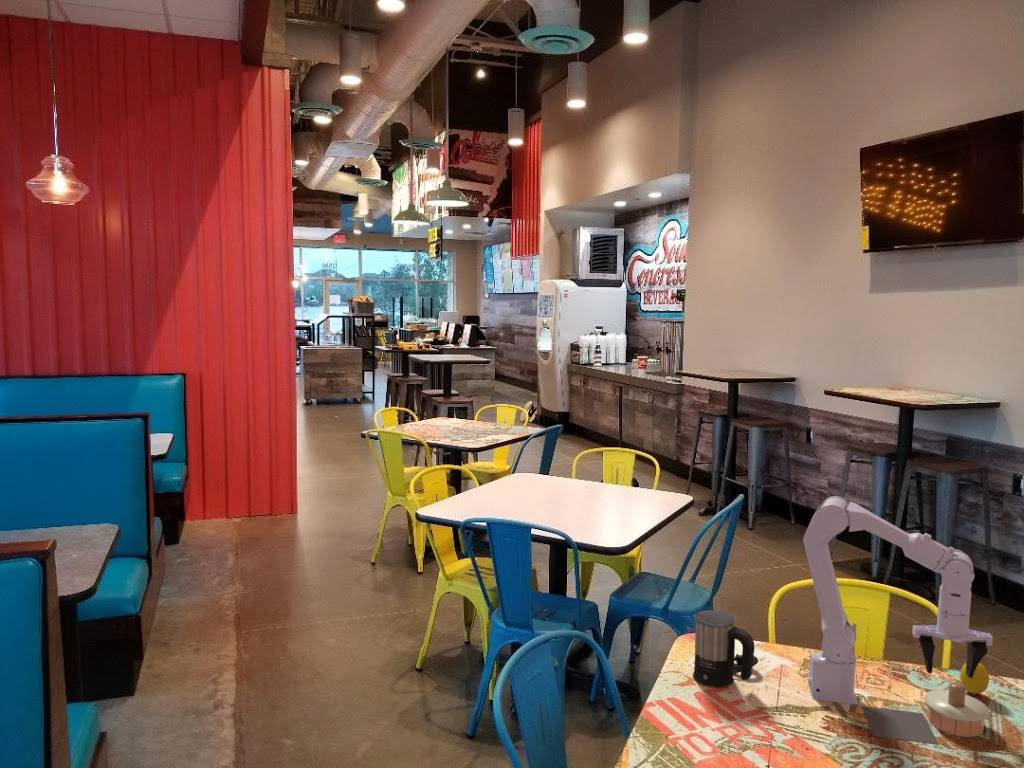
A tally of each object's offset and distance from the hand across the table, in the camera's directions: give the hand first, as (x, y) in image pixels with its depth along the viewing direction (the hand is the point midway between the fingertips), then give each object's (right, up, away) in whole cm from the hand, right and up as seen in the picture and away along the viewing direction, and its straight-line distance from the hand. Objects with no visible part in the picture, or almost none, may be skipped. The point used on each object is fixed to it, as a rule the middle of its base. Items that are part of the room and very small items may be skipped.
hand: (948, 673), depth 163 cm
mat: (-11, -10, -1) cm, 15 cm away
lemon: (+12, -9, +12) cm, 19 cm away
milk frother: (-41, -8, +20) cm, 47 cm away
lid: (+1, -7, -1) cm, 7 cm away
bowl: (+1, -10, -1) cm, 11 cm away
